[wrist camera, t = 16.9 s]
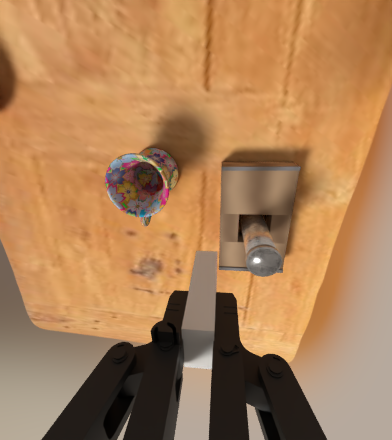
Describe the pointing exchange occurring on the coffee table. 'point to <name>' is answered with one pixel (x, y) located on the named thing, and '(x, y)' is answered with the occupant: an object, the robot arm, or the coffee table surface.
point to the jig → (255, 205)
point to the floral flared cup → (141, 182)
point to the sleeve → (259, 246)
